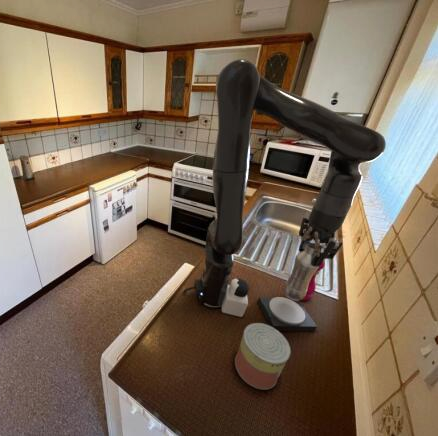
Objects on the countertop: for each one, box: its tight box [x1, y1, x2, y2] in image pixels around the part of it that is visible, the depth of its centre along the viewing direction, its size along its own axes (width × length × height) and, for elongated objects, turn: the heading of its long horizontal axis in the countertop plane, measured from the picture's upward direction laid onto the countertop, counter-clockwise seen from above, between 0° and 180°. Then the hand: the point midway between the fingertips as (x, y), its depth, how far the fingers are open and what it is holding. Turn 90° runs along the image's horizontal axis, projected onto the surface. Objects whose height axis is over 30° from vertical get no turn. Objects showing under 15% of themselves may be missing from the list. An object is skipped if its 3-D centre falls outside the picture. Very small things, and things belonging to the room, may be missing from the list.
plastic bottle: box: [283, 242, 319, 301], centre depth 74 cm, size 6×7×20 cm
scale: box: [257, 296, 318, 332], centre depth 83 cm, size 14×12×3 cm
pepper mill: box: [301, 260, 326, 301], centre depth 87 cm, size 7×7×20 cm
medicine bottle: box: [221, 278, 250, 318], centre depth 83 cm, size 7×7×12 cm
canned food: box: [234, 322, 292, 391], centre depth 65 cm, size 11×11×12 cm
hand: (308, 258), depth 71 cm, fingers closed on plastic bottle, 6 cm apart
